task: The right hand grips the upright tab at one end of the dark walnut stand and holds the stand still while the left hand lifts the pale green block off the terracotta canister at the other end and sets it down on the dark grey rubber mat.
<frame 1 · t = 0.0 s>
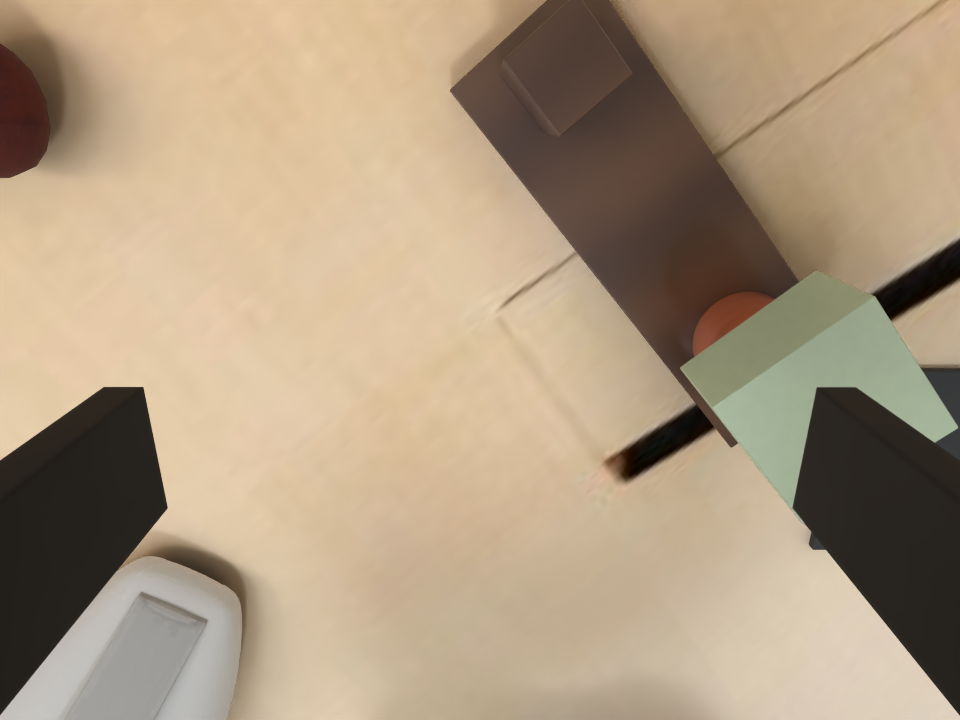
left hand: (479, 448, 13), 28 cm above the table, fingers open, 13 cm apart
pale green block: (786, 376, 33), point 8 cm above the table, touching stand
mat: (926, 461, 45), on the table
potato: (14, 107, 36), on the table
stand: (656, 231, 39), on the table, touching pale green block
projector: (145, 659, 51), on the table
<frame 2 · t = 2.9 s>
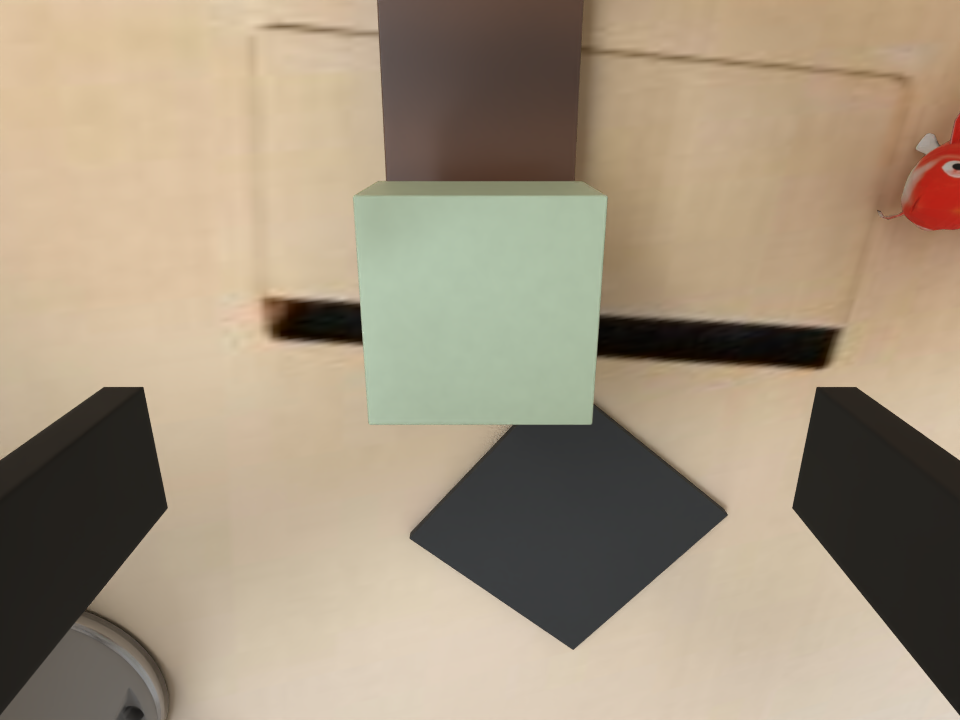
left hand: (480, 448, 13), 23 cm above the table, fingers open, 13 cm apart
pale green block: (480, 282, 26), point 9 cm above the table, touching stand
mat: (566, 521, 40), on the table
stand: (480, 80, 31), on the table, touching pale green block
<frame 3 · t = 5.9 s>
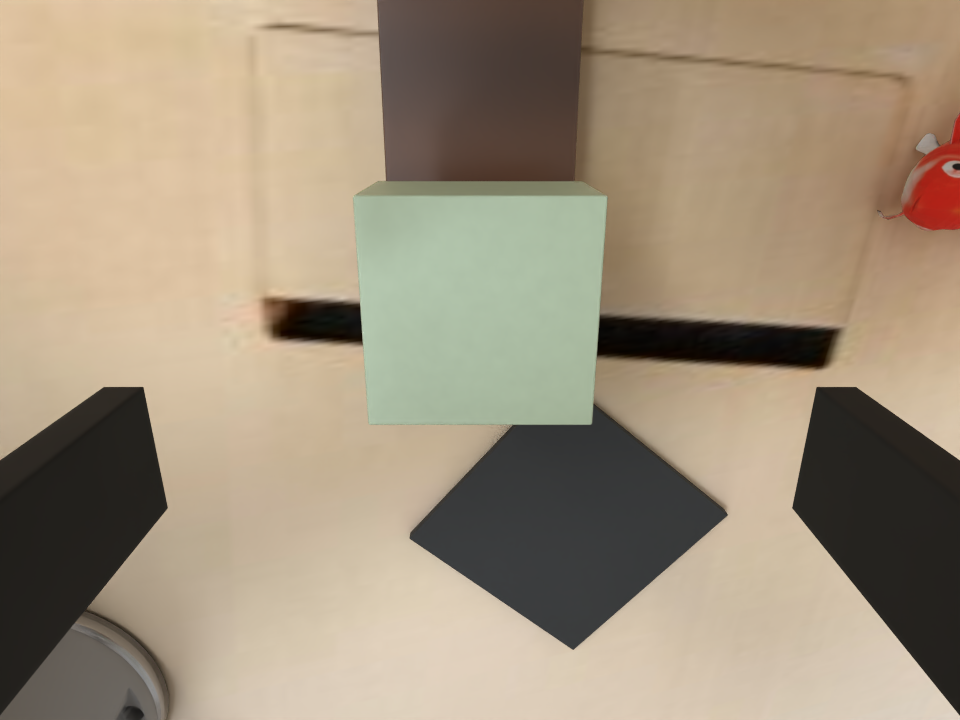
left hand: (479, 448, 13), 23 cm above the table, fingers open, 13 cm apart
pale green block: (480, 282, 26), point 9 cm above the table, touching stand
mat: (566, 521, 40), on the table
stand: (480, 80, 31), on the table, touching pale green block, right hand
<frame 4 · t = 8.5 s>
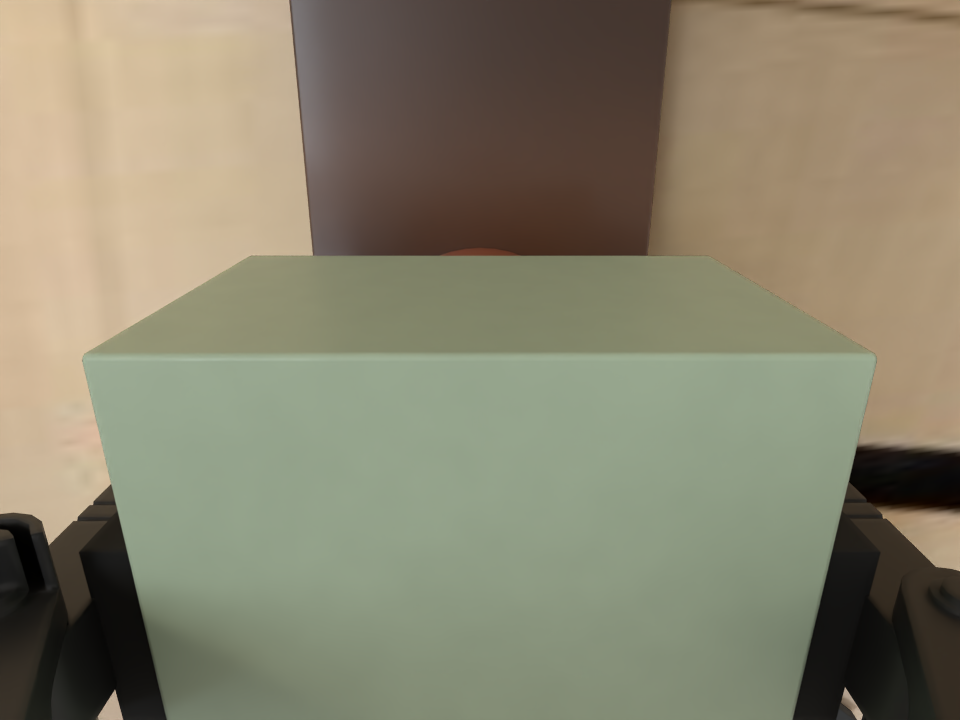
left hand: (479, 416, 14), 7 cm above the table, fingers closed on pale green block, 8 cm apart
pale green block: (479, 458, 12), point 9 cm above the table, touching left hand, stand
stand: (480, 49, 18), on the table, touching pale green block, right hand
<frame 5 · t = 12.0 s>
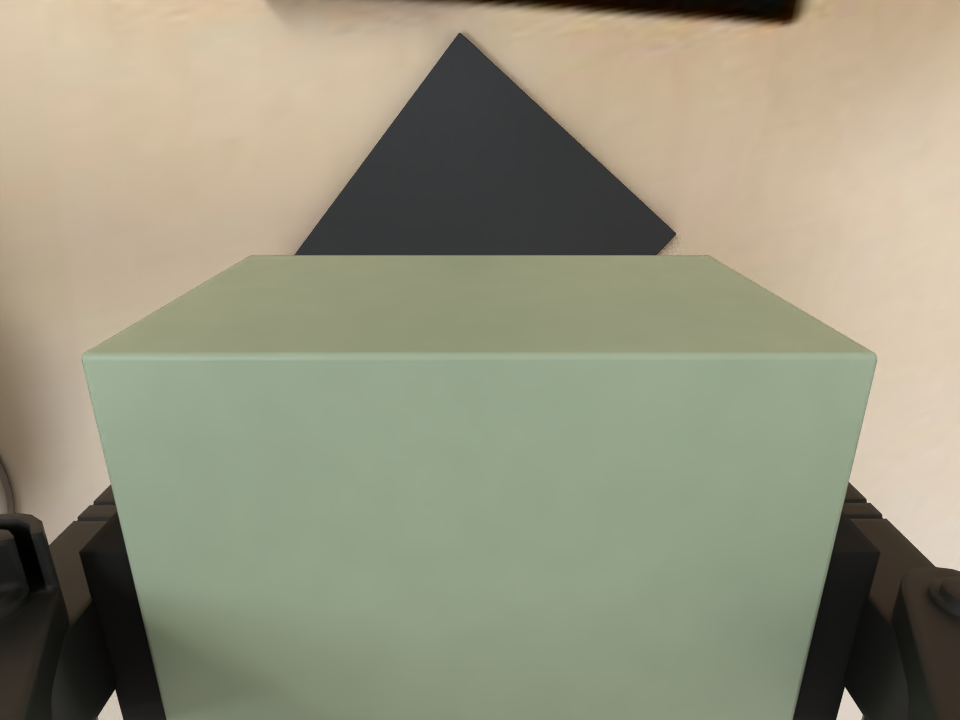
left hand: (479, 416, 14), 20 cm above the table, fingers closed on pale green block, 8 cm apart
pale green block: (479, 458, 12), point 22 cm above the table, touching left hand
mat: (478, 248, 33), on the table
when the left hand's fingers open (3 cm above the table, at t = 15.5 s): pale green block drops 4 cm, resting on mat.
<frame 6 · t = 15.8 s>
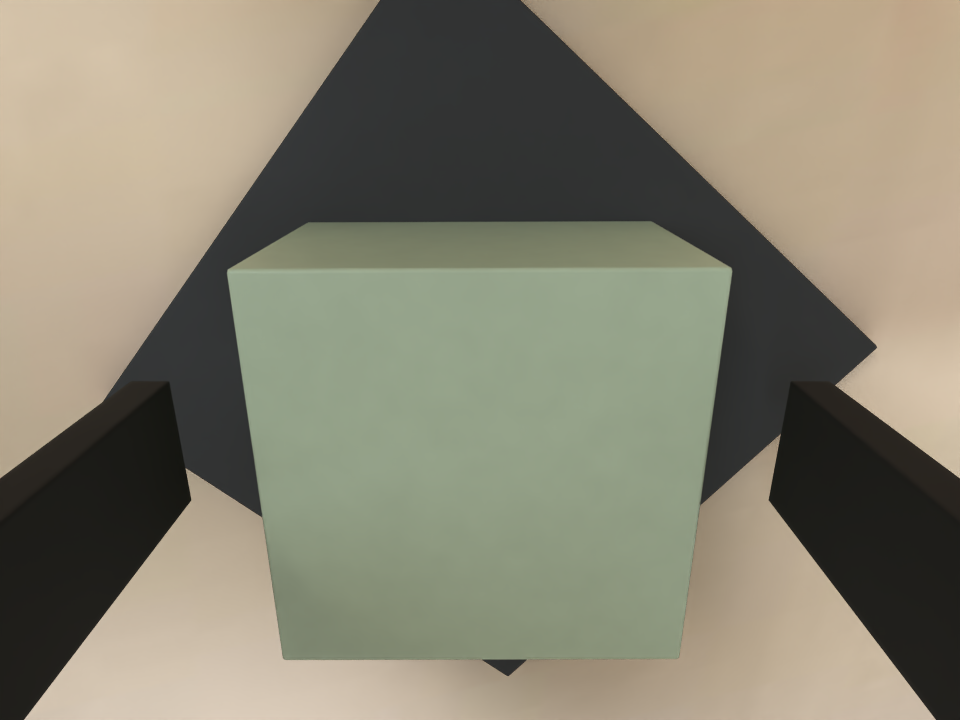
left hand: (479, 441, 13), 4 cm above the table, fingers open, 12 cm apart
pale green block: (480, 381, 16), point 1 cm above the table, touching mat
mat: (480, 371, 17), on the table
when the right hand's fingers open (6 cm above the table, at t = 18.4 s): stand stays where it is, on the table.
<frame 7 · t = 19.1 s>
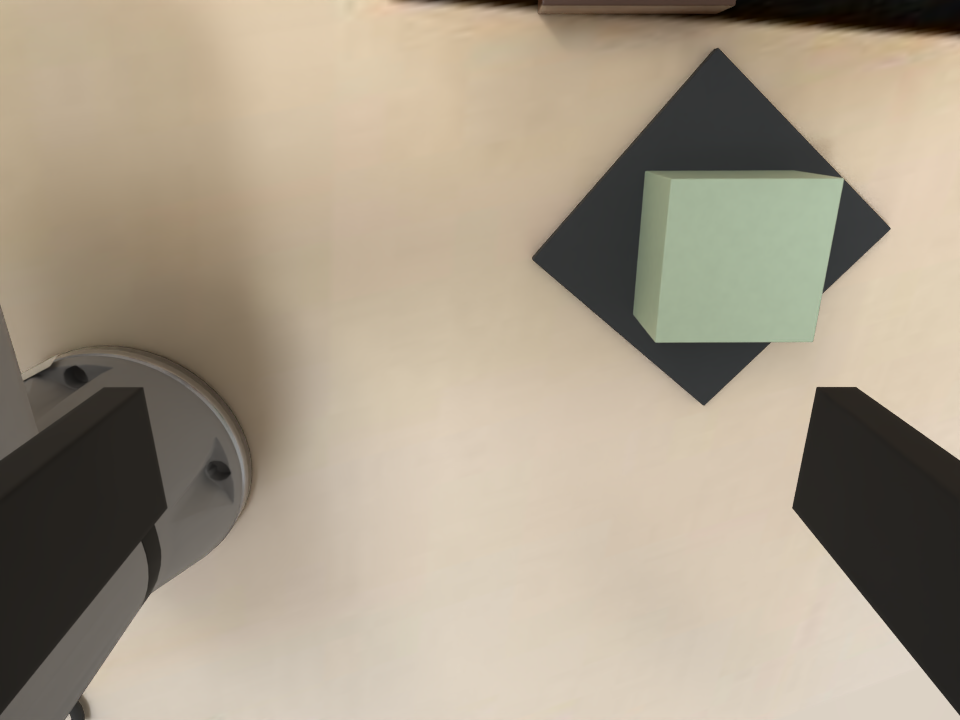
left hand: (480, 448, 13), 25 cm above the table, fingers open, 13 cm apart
pale green block: (710, 245, 35), point 1 cm above the table, touching mat
mat: (706, 242, 36), on the table
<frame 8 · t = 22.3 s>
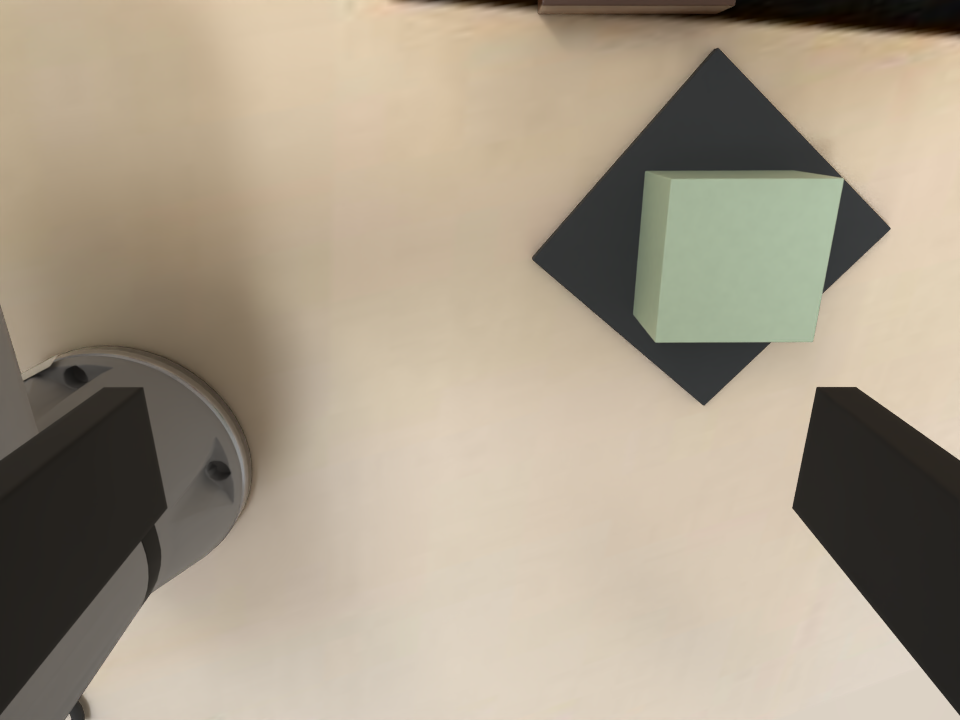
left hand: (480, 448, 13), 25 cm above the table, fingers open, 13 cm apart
pale green block: (710, 245, 35), point 1 cm above the table, touching mat
mat: (706, 242, 36), on the table
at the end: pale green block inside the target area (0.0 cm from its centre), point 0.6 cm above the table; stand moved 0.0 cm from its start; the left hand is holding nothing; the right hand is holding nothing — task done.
